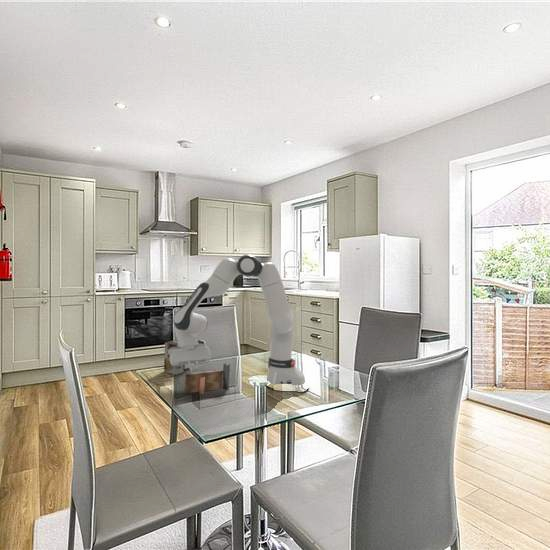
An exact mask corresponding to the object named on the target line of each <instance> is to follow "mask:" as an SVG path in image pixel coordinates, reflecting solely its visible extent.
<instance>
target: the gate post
mask: <svg viewBox="0 0 550 550" xmlns="http://www.w3.org/2000/svg"><path fill="white" fill-rule="evenodd" d="M222 366H223V368H222V370H223V381H222V390H229V389H230V377H231V376H230V373H231V371H230V370H231V363H227V362H225V363H223V365H222Z"/></svg>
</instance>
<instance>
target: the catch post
mask: <svg viewBox="0 0 550 550" xmlns="http://www.w3.org/2000/svg"><path fill="white" fill-rule="evenodd" d="M204 388H205V377H200V384H199V391H198V394H200V393H201V394H200V395H203V394H205V391H204Z"/></svg>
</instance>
